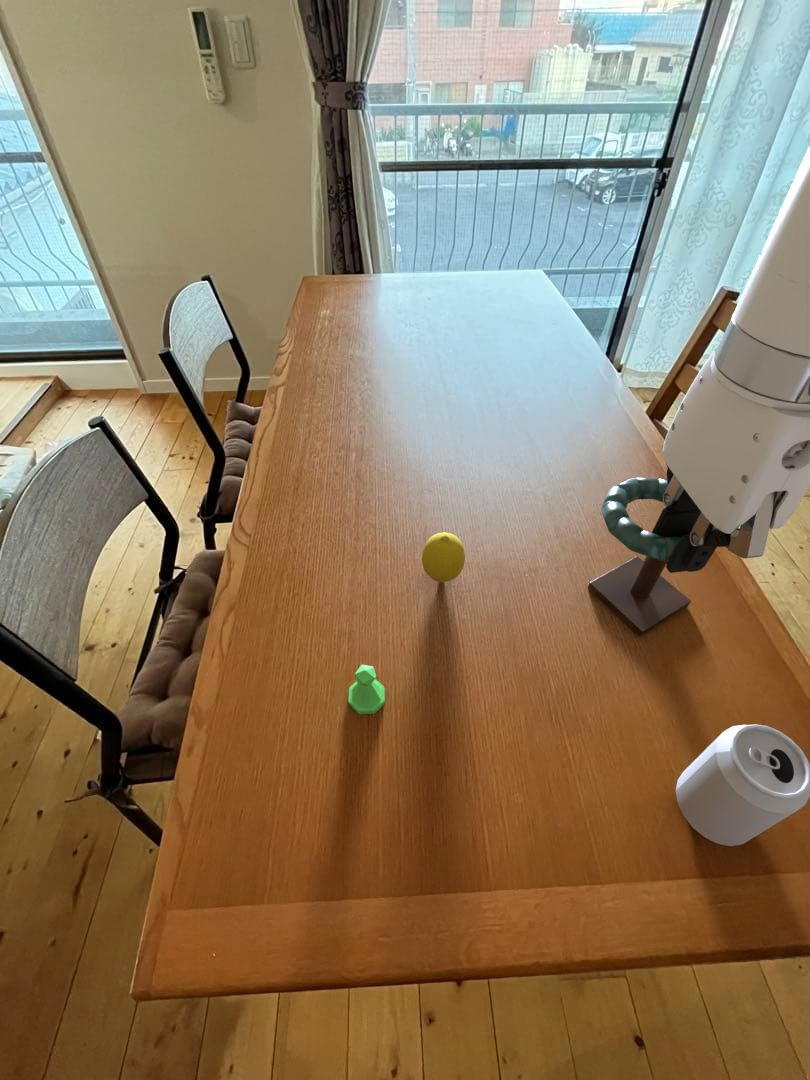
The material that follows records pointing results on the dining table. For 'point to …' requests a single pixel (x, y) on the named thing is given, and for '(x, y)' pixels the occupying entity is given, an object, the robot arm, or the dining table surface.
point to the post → (639, 594)
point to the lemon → (443, 557)
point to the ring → (630, 530)
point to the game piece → (366, 692)
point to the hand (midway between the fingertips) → (675, 553)
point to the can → (744, 784)
